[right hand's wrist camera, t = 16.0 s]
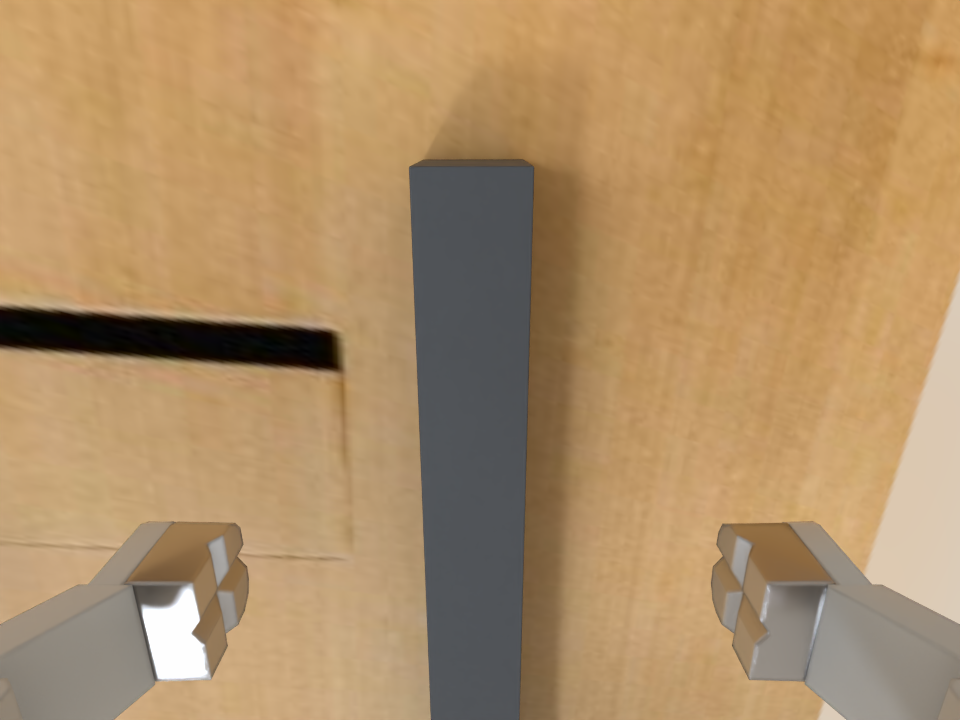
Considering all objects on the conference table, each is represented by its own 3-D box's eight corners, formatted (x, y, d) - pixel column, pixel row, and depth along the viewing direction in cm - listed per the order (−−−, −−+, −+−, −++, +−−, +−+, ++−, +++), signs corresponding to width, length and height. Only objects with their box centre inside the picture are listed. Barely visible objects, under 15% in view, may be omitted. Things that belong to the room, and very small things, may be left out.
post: (422, 159, 31) (408, 166, 25) (524, 159, 31) (534, 165, 25) (447, 940, 53) (443, 1039, 47) (507, 940, 53) (510, 1039, 47)
